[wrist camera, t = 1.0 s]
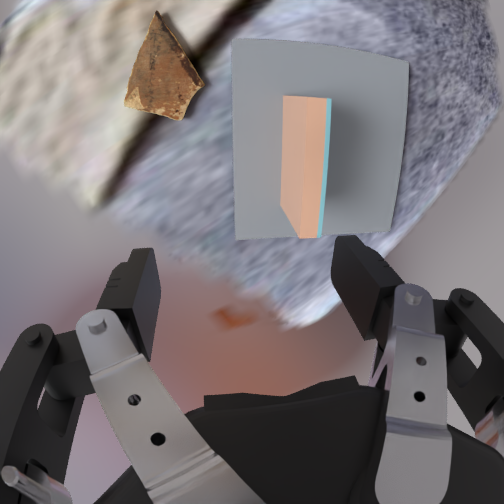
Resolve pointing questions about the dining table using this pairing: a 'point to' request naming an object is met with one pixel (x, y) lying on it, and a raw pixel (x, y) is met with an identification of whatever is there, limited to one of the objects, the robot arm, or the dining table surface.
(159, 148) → the dining table surface
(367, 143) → the board
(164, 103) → the shard
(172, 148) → the dining table surface
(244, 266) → the dining table surface
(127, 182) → the dining table surface
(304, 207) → the tile
